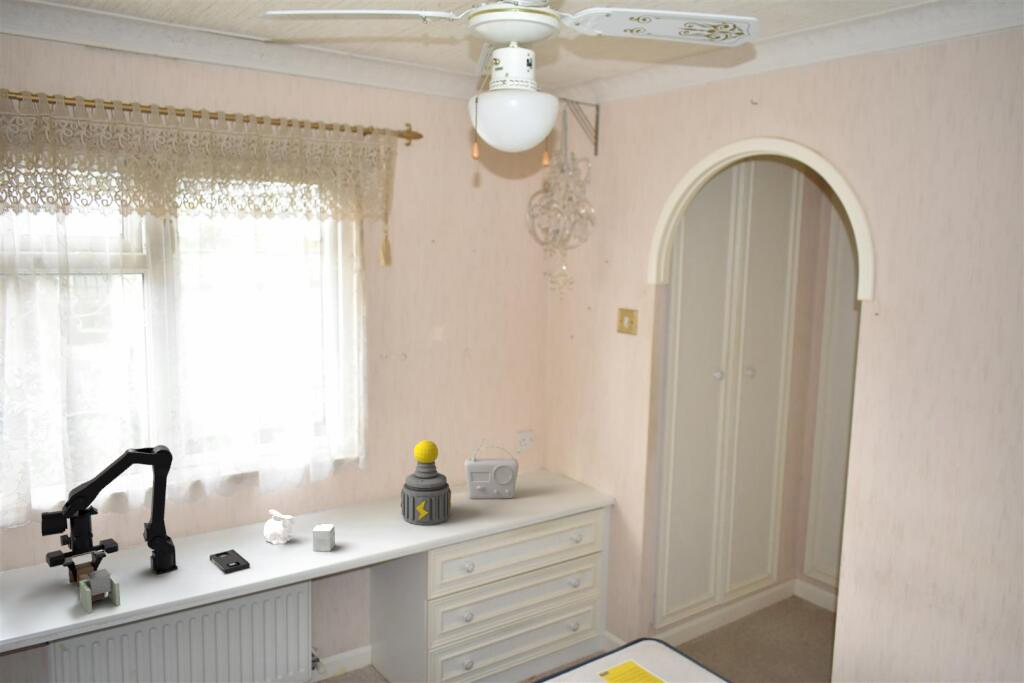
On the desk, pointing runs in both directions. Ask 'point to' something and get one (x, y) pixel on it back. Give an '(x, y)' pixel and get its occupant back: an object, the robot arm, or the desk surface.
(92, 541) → the robot arm
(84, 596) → the cradle
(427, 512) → the decorative lamp
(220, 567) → the vhs tape
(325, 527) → the skincare box
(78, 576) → the brown wooden stepped block
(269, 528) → the rabbit
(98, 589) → the block
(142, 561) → the desk surface
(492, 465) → the radio
